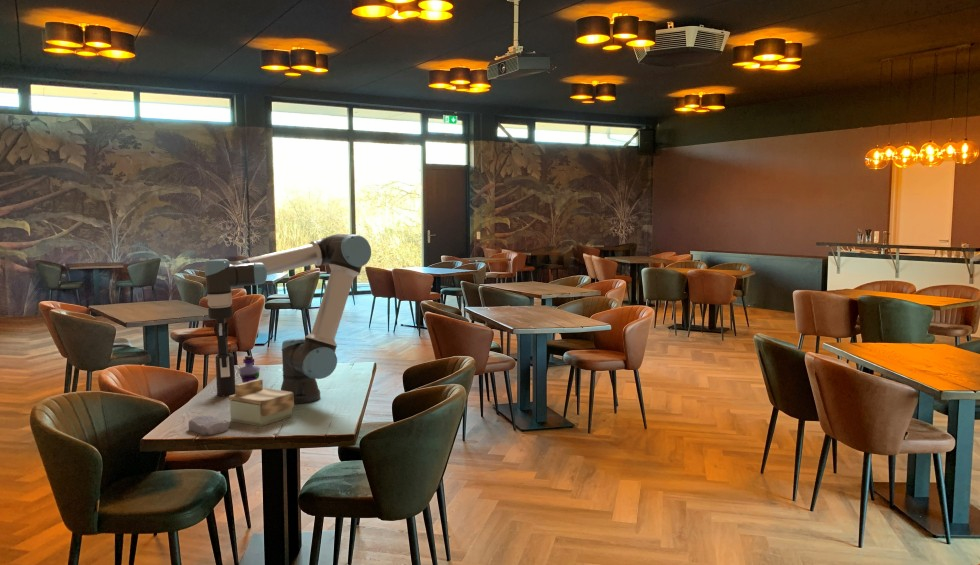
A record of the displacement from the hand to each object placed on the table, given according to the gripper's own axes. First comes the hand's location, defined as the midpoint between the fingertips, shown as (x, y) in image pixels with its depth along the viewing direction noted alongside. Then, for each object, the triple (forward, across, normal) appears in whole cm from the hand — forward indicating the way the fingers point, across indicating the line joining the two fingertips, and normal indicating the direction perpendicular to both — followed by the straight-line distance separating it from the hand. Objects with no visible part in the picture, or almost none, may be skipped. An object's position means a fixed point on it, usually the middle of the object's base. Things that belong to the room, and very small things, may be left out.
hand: (225, 376), depth 238 cm
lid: (+12, -1, +11) cm, 17 cm away
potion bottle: (+17, -56, +4) cm, 59 cm away
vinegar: (+16, -42, -4) cm, 45 cm away
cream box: (+16, -1, +10) cm, 19 cm away
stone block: (+16, +8, -5) cm, 18 cm away
